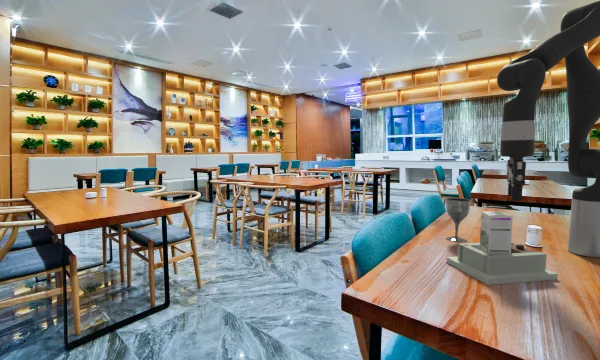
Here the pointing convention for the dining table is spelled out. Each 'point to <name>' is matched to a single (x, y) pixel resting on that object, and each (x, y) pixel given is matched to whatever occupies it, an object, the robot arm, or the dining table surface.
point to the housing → (501, 265)
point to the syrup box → (495, 232)
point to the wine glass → (457, 214)
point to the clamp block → (519, 249)
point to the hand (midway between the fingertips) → (514, 198)
